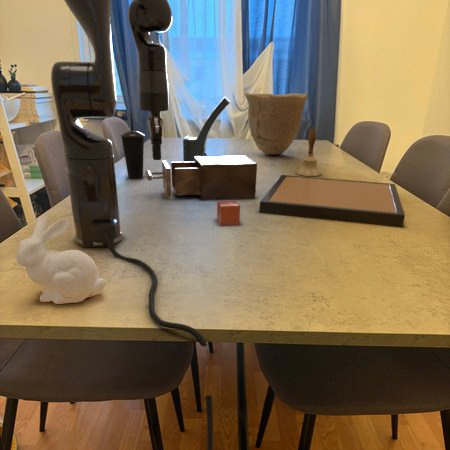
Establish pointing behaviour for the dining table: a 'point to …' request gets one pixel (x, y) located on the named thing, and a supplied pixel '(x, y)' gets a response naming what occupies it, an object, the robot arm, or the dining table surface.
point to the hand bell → (310, 158)
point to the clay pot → (274, 120)
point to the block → (228, 212)
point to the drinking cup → (133, 152)
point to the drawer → (179, 178)
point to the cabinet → (227, 177)
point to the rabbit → (58, 266)
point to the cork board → (334, 200)
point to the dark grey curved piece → (202, 135)
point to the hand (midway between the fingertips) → (157, 159)
